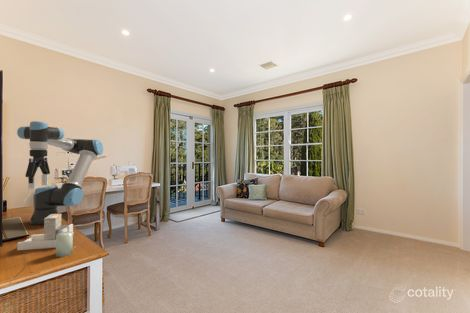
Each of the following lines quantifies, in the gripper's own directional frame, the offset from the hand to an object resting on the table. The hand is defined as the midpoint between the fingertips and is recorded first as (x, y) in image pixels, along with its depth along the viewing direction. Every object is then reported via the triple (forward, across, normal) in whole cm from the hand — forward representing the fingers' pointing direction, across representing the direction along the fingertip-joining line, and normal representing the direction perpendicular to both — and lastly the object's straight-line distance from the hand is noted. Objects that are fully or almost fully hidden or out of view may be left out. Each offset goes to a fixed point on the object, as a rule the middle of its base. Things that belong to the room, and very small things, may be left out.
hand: (38, 187), depth 126 cm
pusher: (+24, +21, +21) cm, 38 cm away
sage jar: (+25, +35, +25) cm, 49 cm away
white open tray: (+25, +20, +12) cm, 35 cm away
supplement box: (+25, +20, +15) cm, 35 cm away
